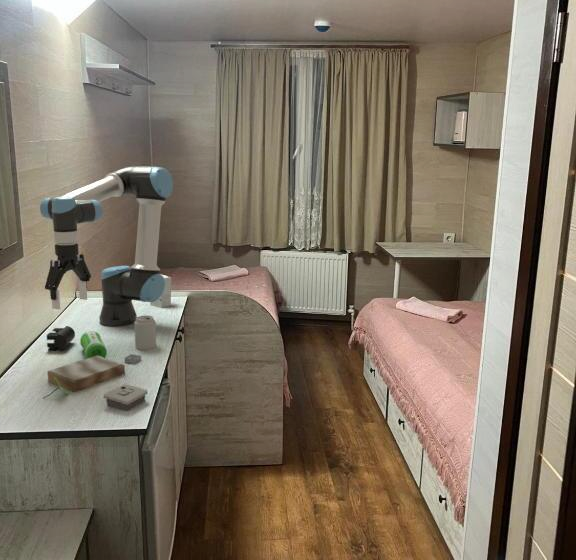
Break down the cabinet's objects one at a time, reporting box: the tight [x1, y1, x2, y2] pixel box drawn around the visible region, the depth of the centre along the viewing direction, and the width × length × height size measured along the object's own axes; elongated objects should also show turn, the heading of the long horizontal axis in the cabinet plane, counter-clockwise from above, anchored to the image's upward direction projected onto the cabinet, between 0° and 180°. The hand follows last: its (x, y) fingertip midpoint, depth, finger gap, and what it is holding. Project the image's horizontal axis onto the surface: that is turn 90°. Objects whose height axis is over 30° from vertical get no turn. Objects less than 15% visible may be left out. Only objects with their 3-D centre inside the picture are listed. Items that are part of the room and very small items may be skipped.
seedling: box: [42, 377, 70, 399], centre depth 186 cm, size 7×8×7 cm
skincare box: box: [149, 273, 172, 309], centre depth 282 cm, size 8×6×15 cm
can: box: [133, 315, 157, 351], centre depth 228 cm, size 8×8×12 cm
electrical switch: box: [103, 383, 149, 412], centre depth 181 cm, size 9×5×9 cm
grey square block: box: [124, 353, 142, 365], centre depth 215 cm, size 4×4×2 cm
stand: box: [47, 355, 126, 394], centre depth 200 cm, size 19×14×4 cm
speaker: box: [79, 330, 108, 359], centre depth 220 cm, size 18×7×8 cm, turn 24°
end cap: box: [46, 325, 76, 352], centre depth 229 cm, size 10×7×7 cm
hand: (70, 303), depth 215 cm, fingers open, 13 cm apart
